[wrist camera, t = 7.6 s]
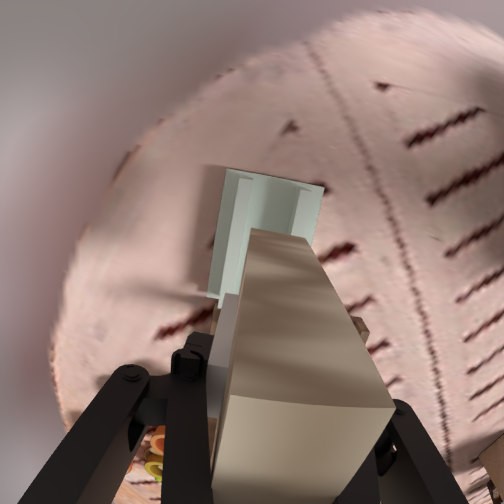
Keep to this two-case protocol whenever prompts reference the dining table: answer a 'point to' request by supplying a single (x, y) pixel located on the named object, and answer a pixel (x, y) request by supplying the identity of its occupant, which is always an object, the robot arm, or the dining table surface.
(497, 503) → the coffee mug
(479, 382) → the dining table surface
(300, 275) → the birch block
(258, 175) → the stand
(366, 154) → the dining table surface
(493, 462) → the wooden block
